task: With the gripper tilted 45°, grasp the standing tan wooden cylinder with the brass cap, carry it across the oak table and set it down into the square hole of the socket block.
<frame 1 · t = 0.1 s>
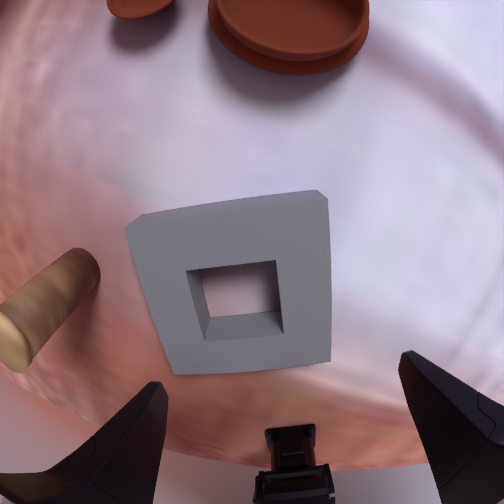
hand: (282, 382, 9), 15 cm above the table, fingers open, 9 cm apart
pottery: (236, 6, 16), on the table
socket block: (239, 282, 24), on the table
tan wooden cylinder: (81, 269, 24), on the table
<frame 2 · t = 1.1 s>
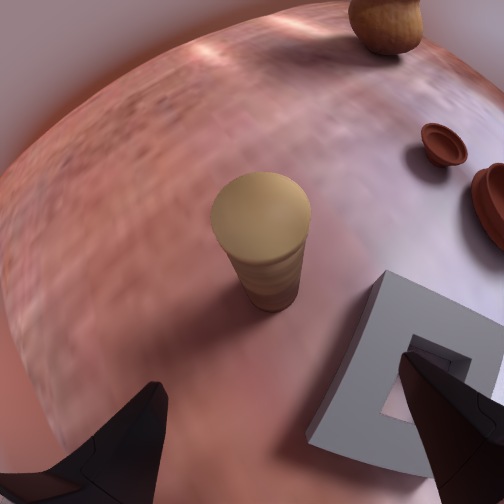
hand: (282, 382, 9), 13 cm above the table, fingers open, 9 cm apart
pottery: (476, 195, 26), on the table
socket block: (412, 385, 20), on the table
tan wooden cylinder: (272, 286, 25), on the table
butternut squash: (379, 50, 39), on the table
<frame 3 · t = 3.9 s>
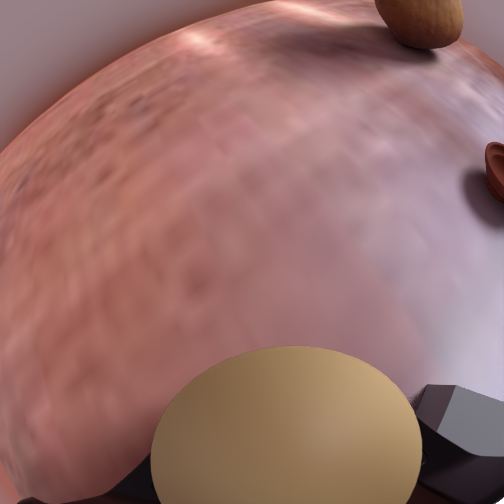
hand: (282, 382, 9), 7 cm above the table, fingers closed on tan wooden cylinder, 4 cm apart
socket block: (451, 495, 10), on the table
tan wooden cylinder: (286, 399, 15), on the table, touching gripper
butternut squash: (410, 43, 29), on the table
when the fingers open (8 cm above the table, at t = 7.8 s): tan wooden cylinder drops 2 cm, resting in socket block.
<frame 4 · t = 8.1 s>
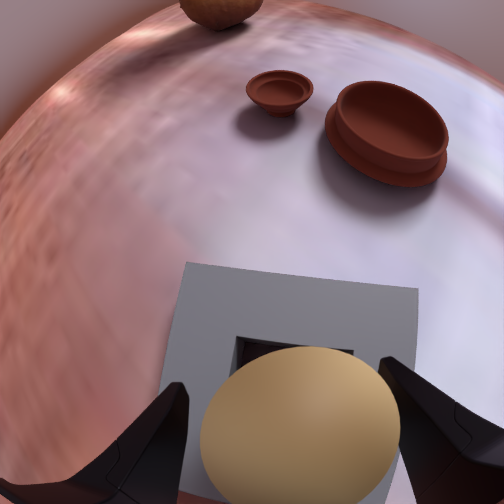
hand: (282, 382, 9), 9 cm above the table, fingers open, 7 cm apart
pottery: (343, 132, 25), on the table
socket block: (285, 395, 17), on the table
tan wooden cylinder: (285, 396, 17), resting in socket block
butternut squash: (226, 26, 38), on the table
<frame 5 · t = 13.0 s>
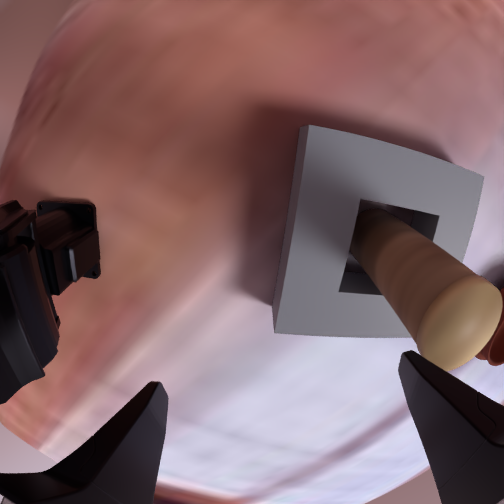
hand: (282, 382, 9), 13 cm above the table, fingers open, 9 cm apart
socket block: (373, 236, 21), on the table
tan wooden cylinder: (373, 236, 21), resting in socket block
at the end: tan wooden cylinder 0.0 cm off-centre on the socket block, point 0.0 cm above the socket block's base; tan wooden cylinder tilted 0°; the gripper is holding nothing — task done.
